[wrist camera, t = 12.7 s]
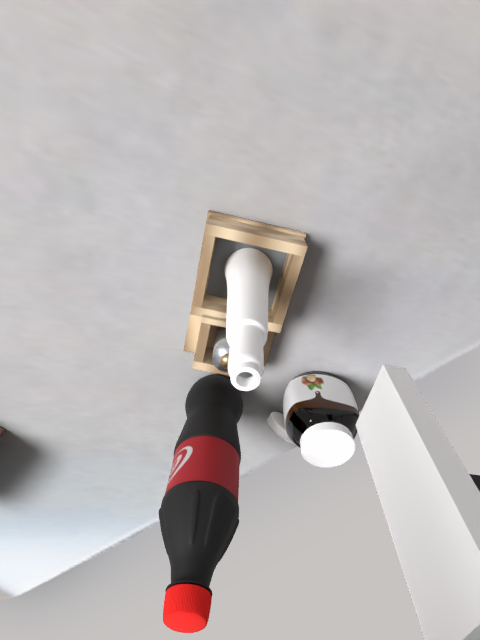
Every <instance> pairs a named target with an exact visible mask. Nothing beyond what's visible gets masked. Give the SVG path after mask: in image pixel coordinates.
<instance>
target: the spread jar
mask: <svg viewBox="0 0 480 640" xmlns="http://www.w3.org/2000/svg"><path fill="white" fill-rule="evenodd" d="M358 418H359V411H358V407H357V404H356V401H355V399H354V396H353V394H352V392H351V390H350V388H349V387H348V386H347V384H346V383H345V382H343V381H342V380H340V379H339V378H337V377H335V376H332V375H330V374H327V373H323V372H308V373H304V374H301V375H299V376H297V377H295V378H293V379H292V380H291V381H290V383H289V384H288V386H287V388H286V390H285V394H284V398H283V414H282V413H279V412H271V414H270V416H269V417H268V419H267V424H268V426H269V427H270V429H271V430H272V431H273V432H274V433H275V434H277V435H278V436H279V437H281V438H282V439H284V440H285V441H287V442H289V443H291V444H293V445H295V446H298V447H300V448H301V453H302V456H303V458H304V459H305V460H306V461H307V462H308V463H310V464H312V465H314V466H317V467H335V466H338V465H341V464H343V463H345V462H347V461H348V460H349V459H350V458H351V457H352V456H353V454H354V452H355V442H354V438H355V436H356V434H357V428H356V422H357V420H358Z"/></svg>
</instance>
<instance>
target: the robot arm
mask: <svg viewBox="0 0 480 640" xmlns="http://www.w3.org/2000/svg"><path fill="white" fill-rule="evenodd" d="M356 428H357V431H358V434H359V437H360V440H361V443H362V447H363V450H364V453H365V456H366V459H367V462H368V465H369V468H370V471H371V475H372V477H373V481H374V484H375V487H376V490H377V493H378V496H379V499H380V502H381V505H382V508H383V512H384V515H385V518H386V521H387V524H388V527H389V530H390V533H391V536H392V539H393V543H394V546H395V549H396V552H397V555H398V558H399V561H400V564H401V567H402V570H403V574H404V577H405V580H406V583H407V586H408V589H409V592H410V595H411V598H412V601H413V605H414V608H415V611H416V614H417V617H418V620H419V623H420V626H421V630H422V633H423V636H424V639H425V640H480V476H479V475H472V474H469V473H468V472H467V470H466V468H465V467H464V465H463V463H462V462H461V460H460V458H459V457H458V455H457V453H456V452H455V450H454V449H453V446H452V445H451V443H450V442H449V440H448V438H447V437H446V435H445V433H444V431H443V430H442V428H441V426H440V425H439V423H438V421H437V420H436V418H435V416H434V415H433V413H432V412H431V410H430V408H429V406H428V405H427V403H426V402H425V400H424V398H423V396H422V395H421V393H420V391H419V390H418V388H417V387H416V385H415V383H414V381H413V380H412V378H411V376H410V375H409V373H408V371H407V370H406V368H402V367H396V366H390V365H384V364H383V365H382V368H381V370H380V372H379V374H378V376H377V379H376V381H375V383H374V385H373V387H372V390H371V392H370V394H369V396H368V398H367V401H366V403H365V405H364V407H363V409H362V412H361V414H360V416H359V418H358V420H357V422H356Z"/></svg>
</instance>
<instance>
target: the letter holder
mask: <svg viewBox="0 0 480 640" xmlns="http://www.w3.org/2000/svg"><path fill="white" fill-rule="evenodd" d="M5 432H6V429H4V428H2V427H0V438H1V437H2V436H3V434H4V433H5Z"/></svg>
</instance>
